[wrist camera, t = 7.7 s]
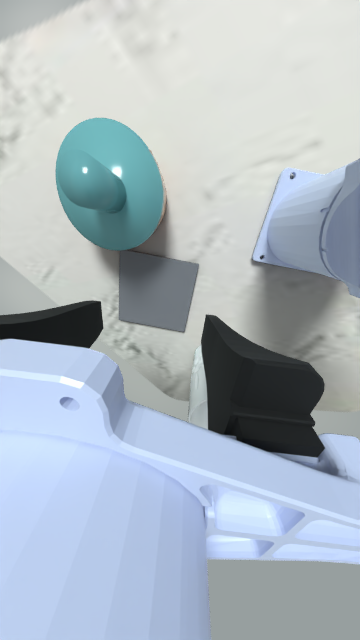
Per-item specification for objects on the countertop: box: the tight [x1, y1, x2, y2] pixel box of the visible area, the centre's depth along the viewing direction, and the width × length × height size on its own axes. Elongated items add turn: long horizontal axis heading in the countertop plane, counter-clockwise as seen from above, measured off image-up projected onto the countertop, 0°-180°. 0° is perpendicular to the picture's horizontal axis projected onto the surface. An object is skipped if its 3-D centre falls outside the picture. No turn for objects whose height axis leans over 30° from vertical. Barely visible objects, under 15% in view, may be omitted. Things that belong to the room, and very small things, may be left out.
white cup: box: [188, 345, 208, 429], centre depth 21 cm, size 8×8×10 cm
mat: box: [119, 250, 199, 332], centre depth 22 cm, size 9×9×1 cm
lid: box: [56, 118, 164, 251], centre depth 13 cm, size 9×9×5 cm
